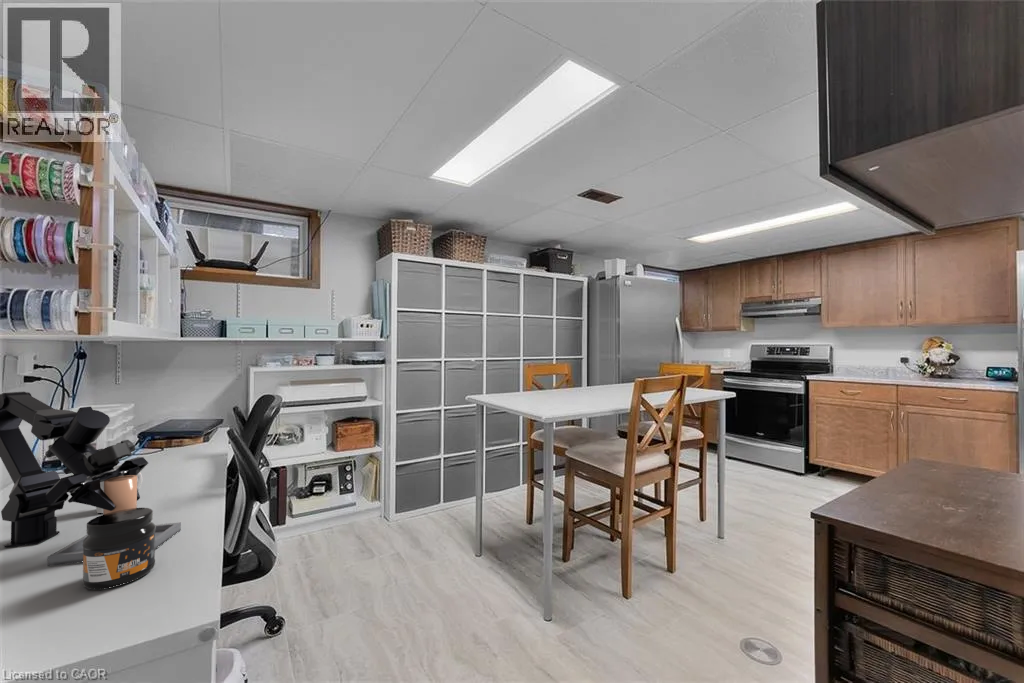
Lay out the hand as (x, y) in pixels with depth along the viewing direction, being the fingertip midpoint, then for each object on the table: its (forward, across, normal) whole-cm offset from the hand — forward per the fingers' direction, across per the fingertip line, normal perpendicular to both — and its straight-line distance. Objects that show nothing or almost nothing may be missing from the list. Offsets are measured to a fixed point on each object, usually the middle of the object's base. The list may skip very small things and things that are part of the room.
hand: (126, 504), depth 95 cm
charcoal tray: (+6, 0, +8) cm, 10 cm away
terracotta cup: (+4, 0, +6) cm, 7 cm away
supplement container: (+15, -13, -1) cm, 20 cm away
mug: (-11, +24, +25) cm, 37 cm away
